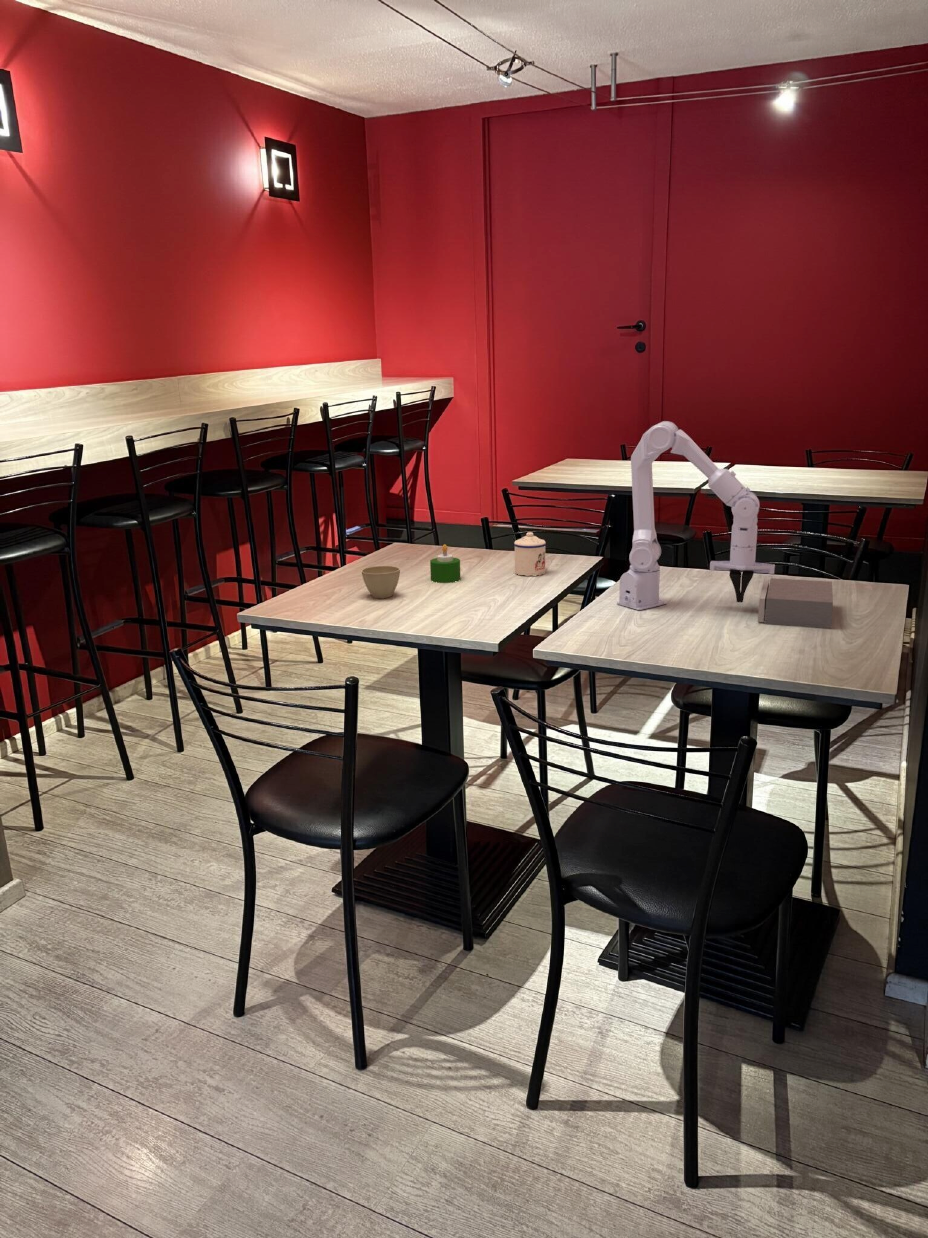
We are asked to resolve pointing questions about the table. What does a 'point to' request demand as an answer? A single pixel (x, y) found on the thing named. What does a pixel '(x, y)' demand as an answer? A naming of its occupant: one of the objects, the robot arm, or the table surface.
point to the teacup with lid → (529, 555)
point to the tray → (763, 601)
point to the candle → (445, 568)
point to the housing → (799, 603)
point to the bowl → (381, 580)
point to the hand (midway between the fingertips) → (739, 601)
